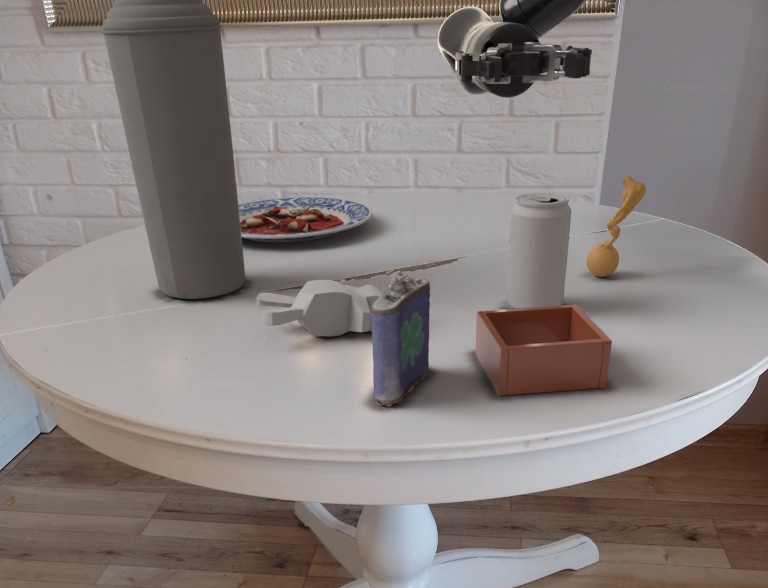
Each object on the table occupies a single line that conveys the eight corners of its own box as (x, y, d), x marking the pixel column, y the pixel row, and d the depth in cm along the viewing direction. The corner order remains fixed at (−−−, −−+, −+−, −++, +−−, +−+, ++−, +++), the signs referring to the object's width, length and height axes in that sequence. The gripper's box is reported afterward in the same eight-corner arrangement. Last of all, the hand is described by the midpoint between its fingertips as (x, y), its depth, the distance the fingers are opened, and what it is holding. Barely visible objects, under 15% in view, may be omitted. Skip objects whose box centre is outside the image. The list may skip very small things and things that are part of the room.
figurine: (594, 265, 104) (605, 167, 97) (640, 270, 102) (655, 170, 95) (575, 283, 98) (586, 180, 91) (624, 289, 96) (639, 183, 89)
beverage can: (538, 320, 87) (547, 206, 81) (494, 307, 91) (499, 198, 85) (574, 306, 91) (585, 196, 84) (529, 294, 95) (537, 188, 88)
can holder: (572, 347, 81) (576, 304, 78) (606, 387, 72) (612, 340, 70) (475, 354, 80) (476, 311, 77) (498, 396, 72) (500, 349, 69)
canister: (132, 292, 101) (62, -44, 82) (210, 267, 109) (163, -44, 90) (195, 311, 94) (135, -51, 75) (274, 283, 102) (237, -50, 83)
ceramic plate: (312, 259, 111) (310, 237, 109) (174, 241, 122) (170, 220, 120) (402, 218, 129) (401, 199, 127) (274, 205, 140) (272, 187, 139)
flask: (393, 409, 70) (390, 288, 64) (364, 403, 71) (358, 285, 65) (434, 370, 77) (434, 258, 71) (407, 366, 78) (404, 256, 72)
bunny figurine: (410, 299, 82) (265, 298, 79) (405, 347, 85) (264, 348, 81) (388, 274, 90) (255, 272, 86) (384, 318, 93) (255, 318, 89)
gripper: (443, 24, 92) (472, 28, 79) (562, 19, 93) (611, 22, 80) (442, 97, 96) (470, 112, 83) (556, 91, 98) (602, 105, 84)
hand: (539, 68), depth 81 cm, fingers open, 8 cm apart
